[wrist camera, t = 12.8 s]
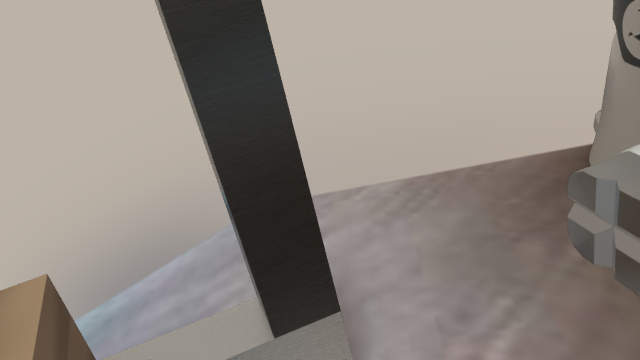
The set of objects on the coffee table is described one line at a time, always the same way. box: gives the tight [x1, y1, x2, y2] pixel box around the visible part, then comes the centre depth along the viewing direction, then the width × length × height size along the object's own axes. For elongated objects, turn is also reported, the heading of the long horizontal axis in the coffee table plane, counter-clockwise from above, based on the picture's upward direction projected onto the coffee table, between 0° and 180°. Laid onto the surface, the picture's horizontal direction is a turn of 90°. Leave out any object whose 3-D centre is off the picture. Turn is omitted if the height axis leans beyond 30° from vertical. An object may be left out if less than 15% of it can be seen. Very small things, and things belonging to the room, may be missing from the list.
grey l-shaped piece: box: [102, 0, 353, 360], centre depth 21 cm, size 16×3×17 cm, turn 110°
